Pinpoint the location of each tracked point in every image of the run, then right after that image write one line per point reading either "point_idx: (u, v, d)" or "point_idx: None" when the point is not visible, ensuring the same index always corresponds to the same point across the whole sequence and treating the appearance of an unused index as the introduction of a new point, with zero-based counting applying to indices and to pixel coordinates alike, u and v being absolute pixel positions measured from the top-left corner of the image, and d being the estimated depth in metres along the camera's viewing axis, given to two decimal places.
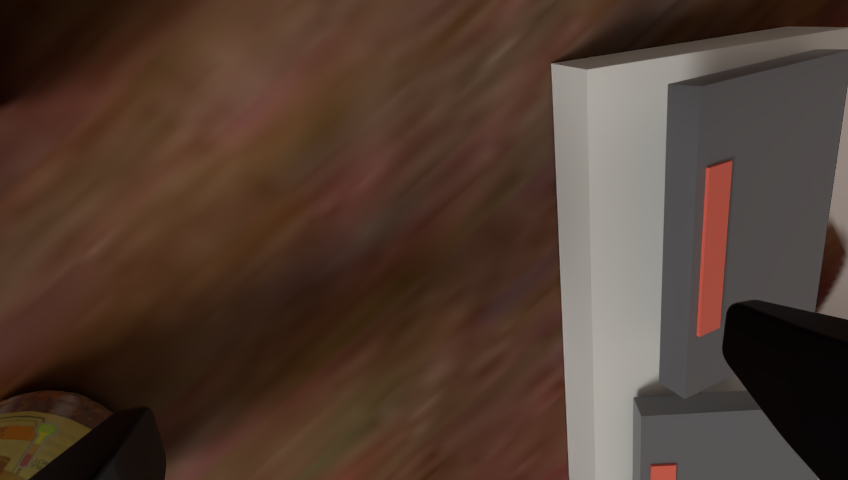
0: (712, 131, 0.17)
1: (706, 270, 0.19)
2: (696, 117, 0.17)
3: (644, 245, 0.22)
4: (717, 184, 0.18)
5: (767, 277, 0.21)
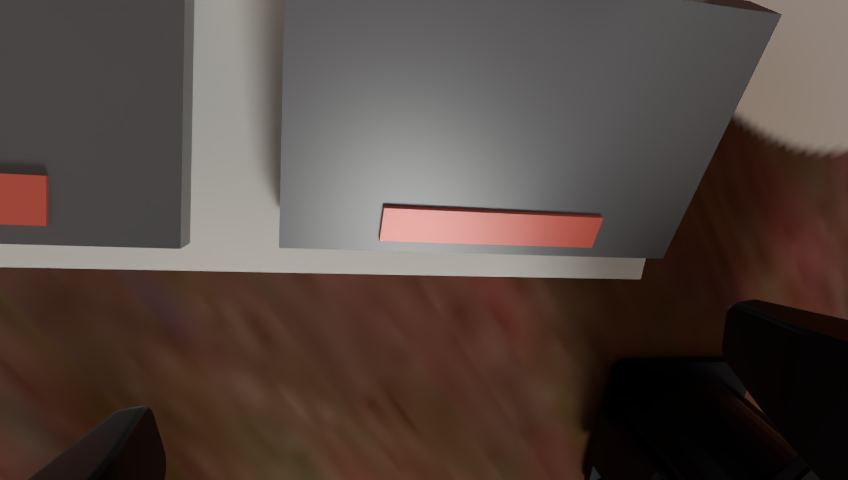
0: None
1: None
2: None
3: None
4: None
5: None
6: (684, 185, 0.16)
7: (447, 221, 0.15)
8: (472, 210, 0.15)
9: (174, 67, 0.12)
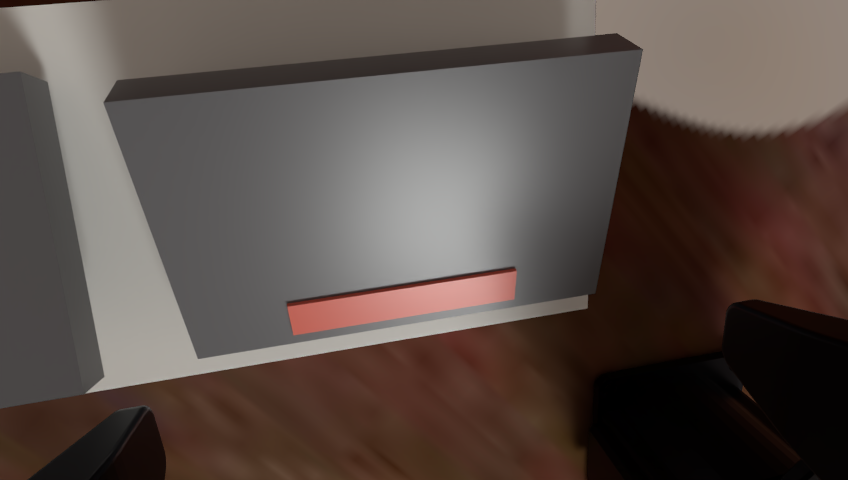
0: None
1: None
2: None
3: None
4: None
5: None
6: (594, 224, 0.15)
7: (355, 305, 0.15)
8: (378, 290, 0.15)
9: (41, 227, 0.12)
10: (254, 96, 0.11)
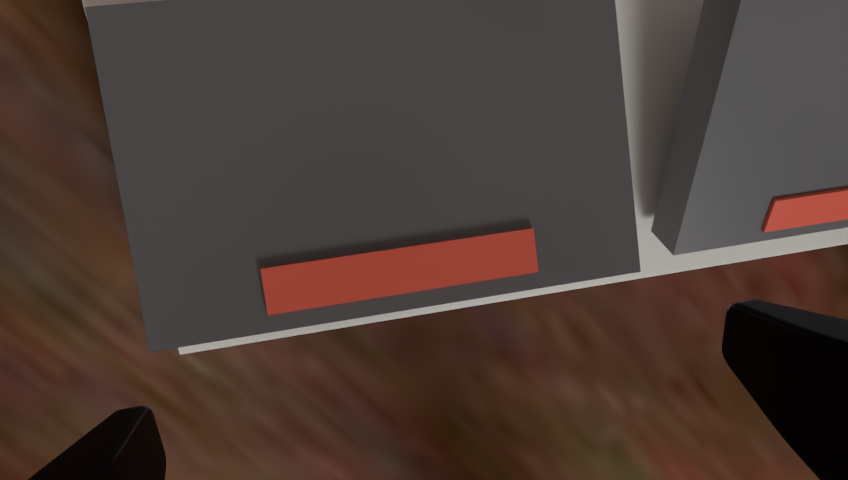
0: (214, 314, 0.12)
1: (429, 283, 0.13)
2: (195, 343, 0.12)
3: None
4: (294, 291, 0.12)
5: (471, 124, 0.13)
6: None
7: (827, 202, 0.16)
8: None
9: (617, 110, 0.13)
10: None
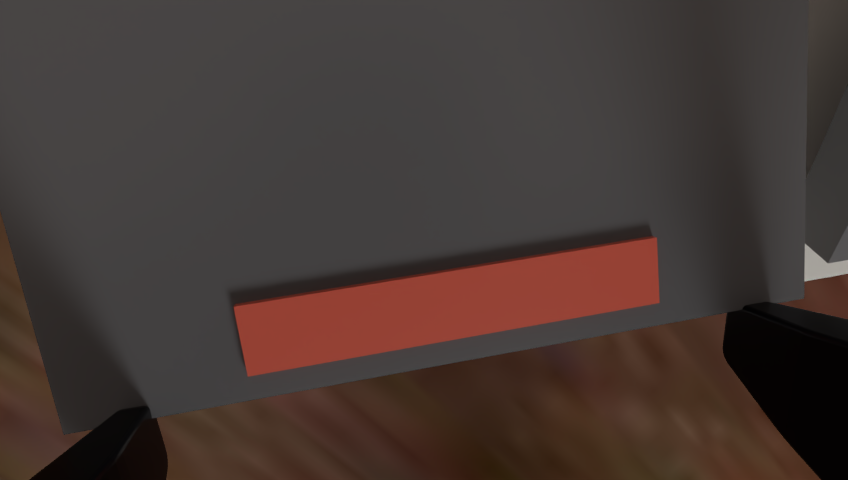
0: (164, 375, 0.08)
1: (497, 323, 0.08)
2: None
3: None
4: (288, 340, 0.08)
5: (569, 72, 0.08)
6: None
7: None
8: None
9: (796, 52, 0.08)
10: None
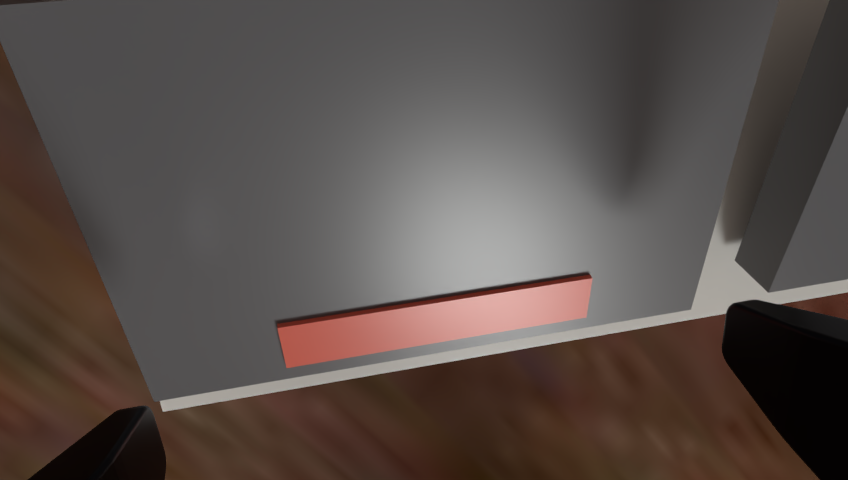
0: (225, 366, 0.11)
1: (468, 332, 0.11)
2: (205, 388, 0.11)
3: None
4: (316, 346, 0.11)
5: (547, 168, 0.10)
6: None
7: None
8: None
9: (727, 149, 0.10)
10: None
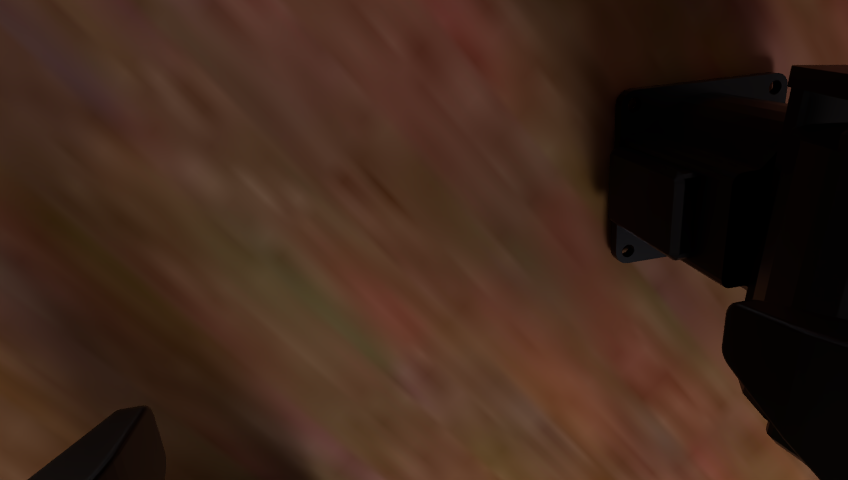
0: None
1: None
2: None
3: None
4: None
5: None
6: None
7: None
8: None
9: None
10: None
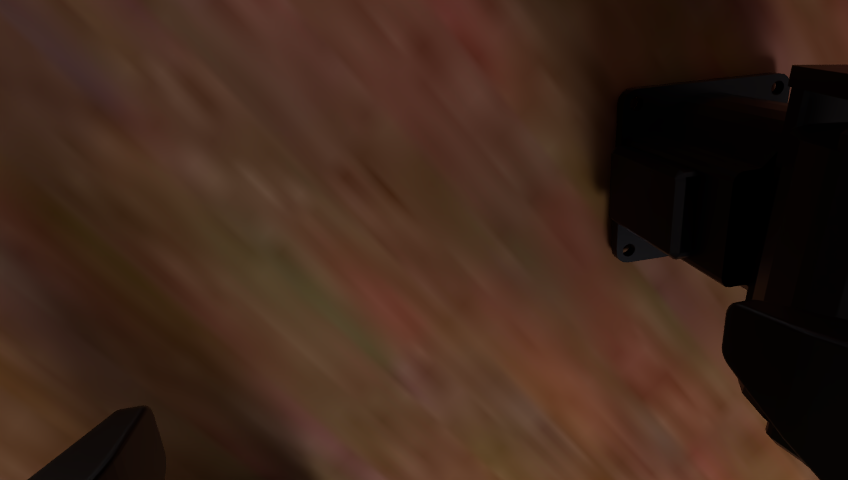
0: None
1: None
2: None
3: None
4: None
5: None
6: None
7: None
8: None
9: None
10: None
